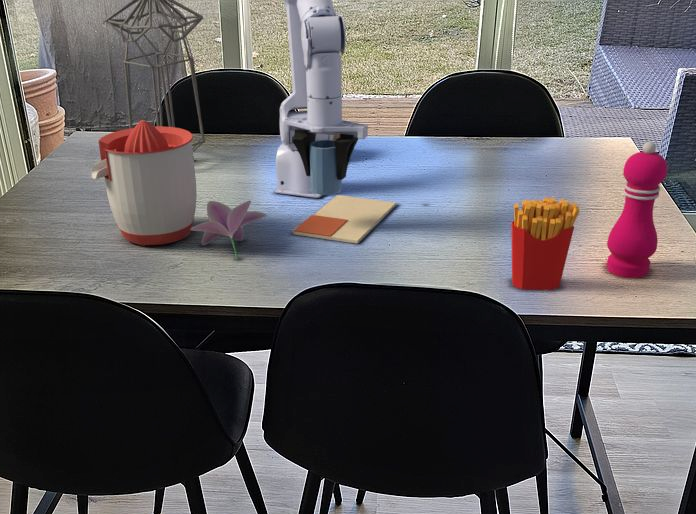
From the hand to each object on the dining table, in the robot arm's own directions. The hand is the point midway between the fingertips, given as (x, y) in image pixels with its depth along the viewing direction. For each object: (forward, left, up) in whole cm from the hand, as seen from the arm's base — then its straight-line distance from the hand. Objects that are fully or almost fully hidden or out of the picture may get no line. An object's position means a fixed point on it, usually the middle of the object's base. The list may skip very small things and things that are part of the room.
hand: (325, 176), depth 142 cm
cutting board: (+2, +5, -9) cm, 11 cm away
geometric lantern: (-47, +23, -10) cm, 53 cm away
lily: (-11, -15, -10) cm, 21 cm away
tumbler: (0, 0, -2) cm, 2 cm away
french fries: (+39, -10, -10) cm, 41 cm away
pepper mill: (+51, 0, -10) cm, 52 cm away
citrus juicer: (-27, -14, -10) cm, 32 cm away
